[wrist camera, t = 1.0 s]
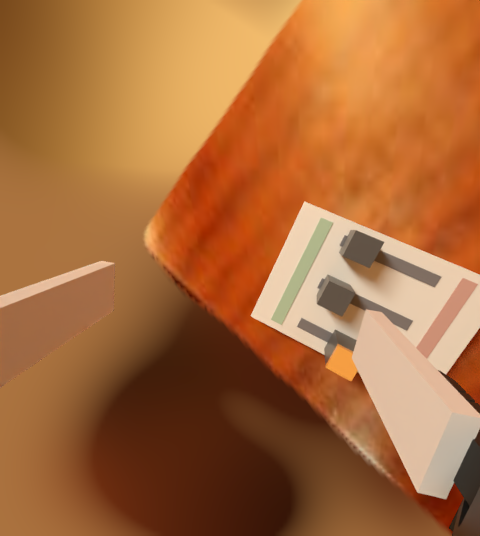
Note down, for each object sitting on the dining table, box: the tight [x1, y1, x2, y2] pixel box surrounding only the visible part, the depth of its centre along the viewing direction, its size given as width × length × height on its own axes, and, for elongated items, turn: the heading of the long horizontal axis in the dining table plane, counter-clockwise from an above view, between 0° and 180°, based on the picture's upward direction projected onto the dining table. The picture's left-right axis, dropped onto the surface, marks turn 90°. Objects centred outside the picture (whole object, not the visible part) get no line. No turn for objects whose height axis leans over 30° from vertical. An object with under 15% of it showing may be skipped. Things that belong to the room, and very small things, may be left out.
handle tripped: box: [324, 330, 358, 381], centre depth 32 cm, size 3×3×5 cm
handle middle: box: [317, 274, 355, 317], centre depth 31 cm, size 3×3×4 cm
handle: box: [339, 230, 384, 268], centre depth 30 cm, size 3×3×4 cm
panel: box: [251, 202, 480, 374], centre depth 34 cm, size 24×17×2 cm
